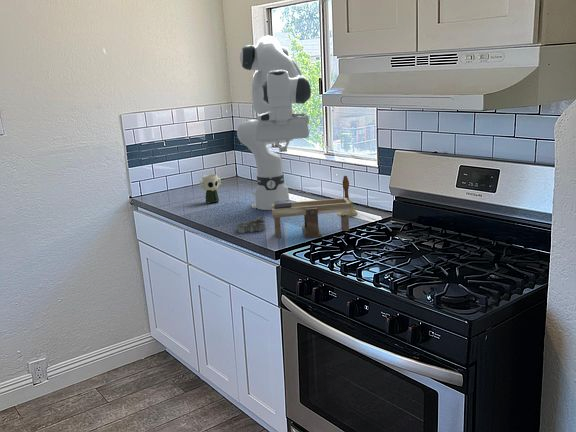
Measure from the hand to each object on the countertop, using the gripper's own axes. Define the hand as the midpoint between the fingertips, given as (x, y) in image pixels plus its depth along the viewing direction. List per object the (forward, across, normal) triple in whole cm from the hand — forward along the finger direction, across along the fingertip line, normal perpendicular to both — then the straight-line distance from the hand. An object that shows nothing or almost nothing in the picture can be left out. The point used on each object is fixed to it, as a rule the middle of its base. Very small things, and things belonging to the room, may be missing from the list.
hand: (283, 151), depth 221 cm
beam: (+20, -8, +12) cm, 25 cm away
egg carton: (+30, +14, +1) cm, 33 cm away
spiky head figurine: (+29, +33, -53) cm, 69 cm away
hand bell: (+29, -25, -11) cm, 40 cm away
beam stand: (+29, -8, +12) cm, 32 cm away
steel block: (+20, +2, +12) cm, 24 cm away
